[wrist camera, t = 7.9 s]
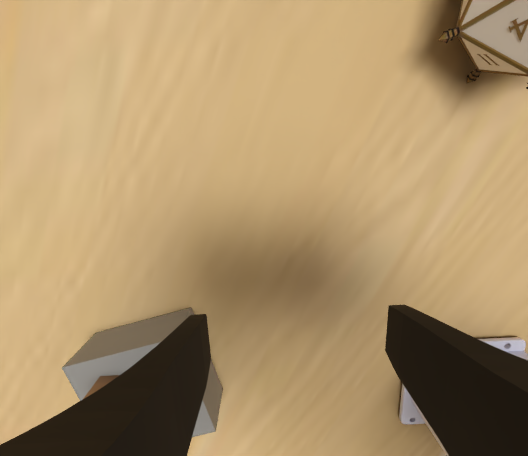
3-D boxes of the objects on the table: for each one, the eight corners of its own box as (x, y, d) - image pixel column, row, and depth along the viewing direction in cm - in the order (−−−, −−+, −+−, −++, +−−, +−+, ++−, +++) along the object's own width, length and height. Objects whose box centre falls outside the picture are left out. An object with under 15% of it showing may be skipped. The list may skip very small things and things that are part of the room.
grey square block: (192, 305, 21) (176, 337, 17) (223, 385, 23) (215, 431, 19) (98, 330, 21) (61, 367, 17) (136, 406, 23) (111, 456, 19)
